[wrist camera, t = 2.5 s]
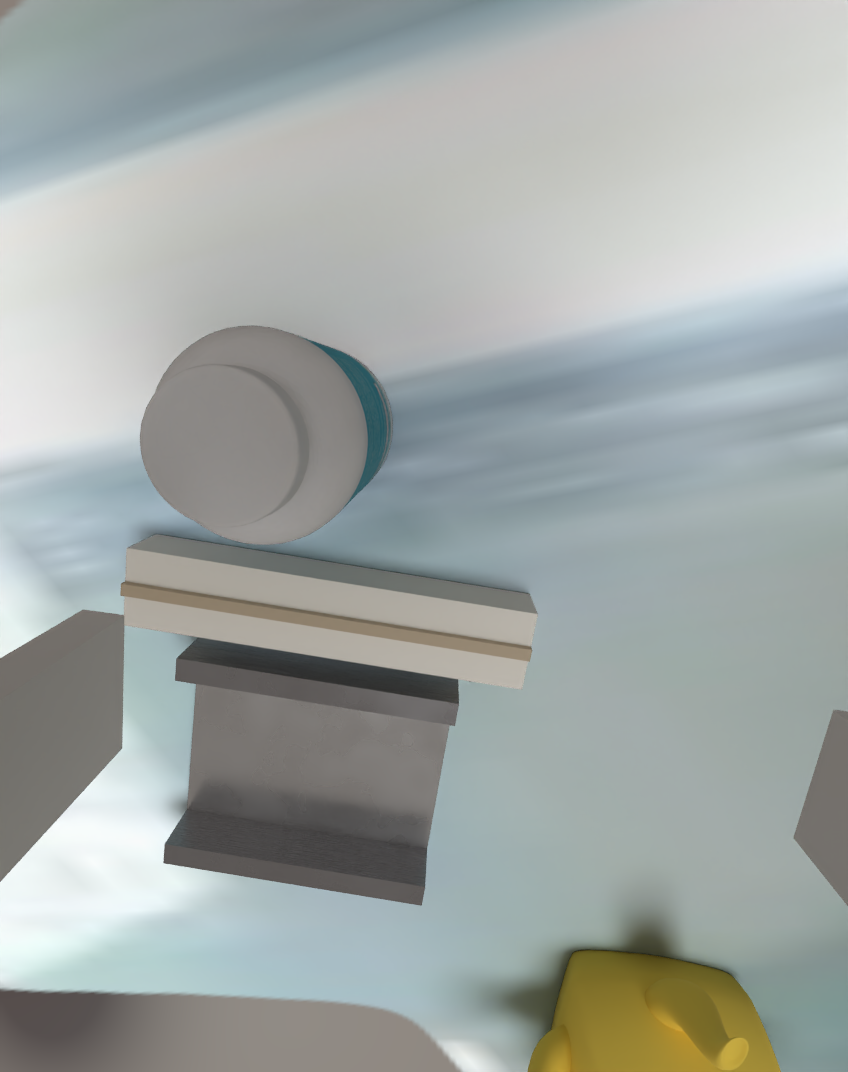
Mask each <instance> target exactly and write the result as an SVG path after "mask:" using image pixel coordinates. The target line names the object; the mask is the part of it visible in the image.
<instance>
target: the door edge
mask: <svg viewBox="0 0 848 1072" xmlns="http://www.w3.org/2000/svg"><path fill="white" fill-rule="evenodd" d="M121 596H125V602H124V625H126V626H132V627H138V628H144V629H151V630H157V631H163V632H169V633H175V634H182V635H188V636H194V637H200V638H206V639H212V640H219V641H225V642H231V643H237V644H243V645H250V646H256V647H262V648H268V649H274V650H280V651H287V652H293V653H299V654H305V655H311V656H318V657H324V658H330V659H336V660H342V661H348V662H355V663H361V664H367V665H373V666H379V667H386V668H392V669H398V670H404V671H410V672H416V673H423V674H429V675H435V676H441V677H447V678H454V679H460V680H466V681H472V682H478V683H484V684H491V685H497V686H503V687H509V688H515V689H522V687H523V682H524V678H525V673H526V668H527V663H528V661H529V662H530V658H531V653H532V648H531V644H532V640H533V635H534V630H535V625H536V621H537V616H538V613H537V611H536V608H535V606H534V603H533V601H532V598H531V596H530V594H526V593H520V592H514V591H507V590H501V589H495V588H489V587H483V586H476V585H470V584H464V583H458V582H451V581H445V580H439V579H433V578H427V577H420V576H414V575H408V574H402V573H395V572H389V571H383V570H377V569H371V568H364V567H358V566H352V565H346V564H339V563H333V562H327V561H321V560H315V559H308V558H302V557H296V556H290V555H283V554H277V553H271V552H265V551H259V550H252V549H246V548H240V547H234V546H227V545H221V544H215V543H209V542H203V541H196V540H190V539H184V538H178V537H171V536H165V535H159V534H155V535H153V536H151V537H149V538H147V539H145V540H143V541H141V542H138V543H136V544H134V545H132V546H130V547H128V548H127V552H126V577H125V582H123V583H122V584H121Z"/></svg>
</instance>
